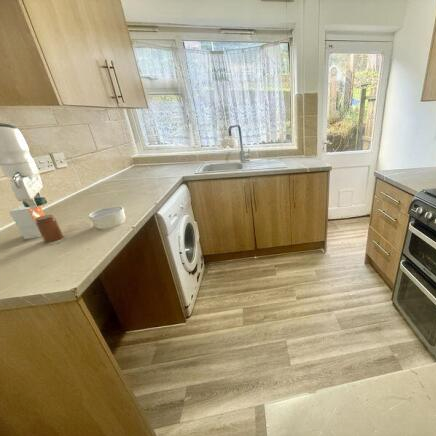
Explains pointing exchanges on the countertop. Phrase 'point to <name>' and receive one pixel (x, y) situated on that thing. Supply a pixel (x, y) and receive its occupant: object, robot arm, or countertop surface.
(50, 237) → the jar
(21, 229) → the small box
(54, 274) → the countertop surface
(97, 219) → the ramekin
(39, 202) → the lid
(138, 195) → the countertop surface
